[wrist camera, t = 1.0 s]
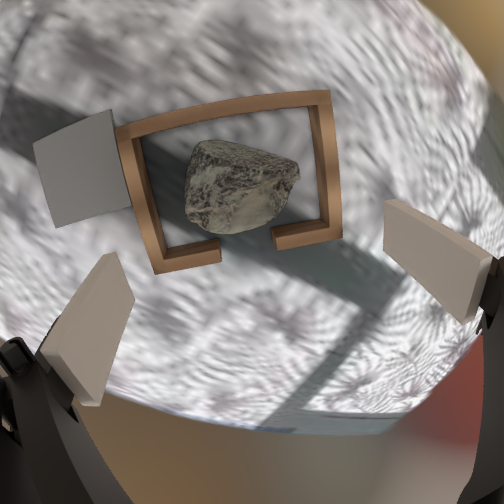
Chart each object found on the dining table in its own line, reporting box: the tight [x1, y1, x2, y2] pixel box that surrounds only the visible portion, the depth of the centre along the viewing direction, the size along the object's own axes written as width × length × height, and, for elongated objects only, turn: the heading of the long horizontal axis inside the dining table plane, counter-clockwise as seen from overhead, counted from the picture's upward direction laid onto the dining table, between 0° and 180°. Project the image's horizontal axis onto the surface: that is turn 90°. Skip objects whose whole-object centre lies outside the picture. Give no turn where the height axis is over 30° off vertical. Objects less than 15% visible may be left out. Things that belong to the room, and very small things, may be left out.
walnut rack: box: [114, 90, 343, 275], centre depth 28 cm, size 16×21×3 cm
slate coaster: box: [33, 109, 132, 228], centre depth 26 cm, size 11×11×1 cm
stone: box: [184, 140, 301, 234], centre depth 26 cm, size 10×10×10 cm
